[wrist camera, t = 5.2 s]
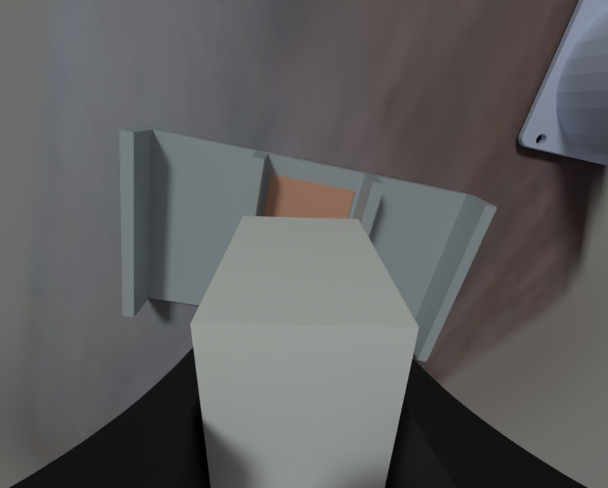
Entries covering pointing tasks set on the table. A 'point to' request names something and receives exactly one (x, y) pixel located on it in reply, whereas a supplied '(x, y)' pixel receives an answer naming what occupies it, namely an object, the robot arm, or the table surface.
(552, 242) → the table surface
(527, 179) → the table surface
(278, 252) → the off-white matte box
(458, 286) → the rack
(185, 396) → the robot arm
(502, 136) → the table surface
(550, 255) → the table surface
